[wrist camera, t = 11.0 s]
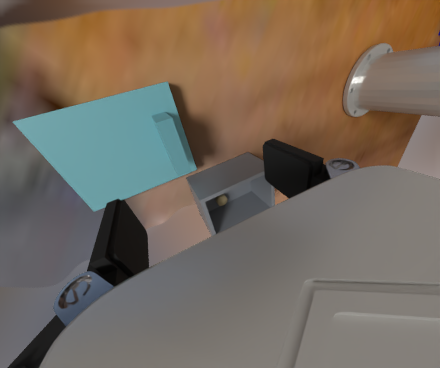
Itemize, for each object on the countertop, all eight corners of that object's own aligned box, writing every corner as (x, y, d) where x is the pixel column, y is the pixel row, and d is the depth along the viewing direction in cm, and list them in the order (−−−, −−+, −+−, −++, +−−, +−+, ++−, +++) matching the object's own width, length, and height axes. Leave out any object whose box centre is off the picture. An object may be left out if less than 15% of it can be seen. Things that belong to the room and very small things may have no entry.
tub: (248, 152, 30) (273, 166, 24) (252, 190, 35) (274, 209, 30) (186, 177, 27) (199, 200, 22) (200, 215, 32) (214, 241, 27)
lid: (164, 82, 20) (176, 79, 14) (193, 164, 27) (208, 184, 21) (23, 118, 17) (-31, 133, 11) (96, 203, 23) (85, 239, 18)
